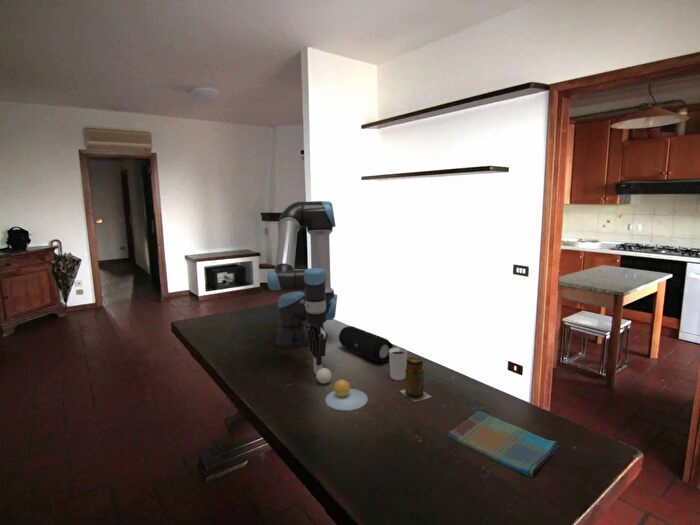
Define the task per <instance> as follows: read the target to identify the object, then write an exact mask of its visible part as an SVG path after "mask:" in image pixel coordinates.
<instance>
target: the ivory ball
mask: <svg viewBox="0 0 700 525" xmlns="http://www.w3.org/2000/svg"><path fill="white" fill-rule="evenodd" d="M315 378H316V381H317V382H318V383H320V384H322V385H325V384H327V383H329V382H330V381H331V380H332V372H331V370H330V369H329V368H327V367H322V368H321V369H319V370H318V371H317V373H316V374H315Z"/></svg>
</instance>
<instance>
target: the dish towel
mask: <svg viewBox="0 0 700 525" xmlns="http://www.w3.org/2000/svg"><path fill="white" fill-rule="evenodd" d="M447 437H448V438H449V439H451V440H452V441H455V442H456V443H458V444H460V445H463V446H464V447H467V448H468V449H469V448H470V449H471V450H473V451H474V452H477V453H479V454H481V455H482V456H483V455H484V456H485V457H487V458H489V459H491V460H492V461H494V462H497V463H498V464H500V465H502V466H504V467H507V468H509V469H511V470H513V471H515V472H517V473H520V474H522V475H524V476H526V477H530V478H534V475H535V474H536V472H537V471H538V470H540V468H541V467H542V465H543V464H544V463H546V462H547V461H548V459H549V458H550V457H551V456H553V455H555V453H556V452H557V451H558V448H560V446H559V445H557V441H555V440H549V439H546V438H543V437H542V436H540V435H536V434H534V433H532V432H530V431H528V430H526V429H524V428H521V427H519V426H516V425H514V424H511V423H509V422H506V421H504V420H501V419H499V418H497V417H494V416H492V415H490V414H487V413H485V412H483V411H482V410H477V411H476V412H474V413H473V414H472V415H470V416H469V417H468V418H466V419H465V420H464V421H462V422H461V423H460V424H459V425H457V426H456V427H455V428H453V429H452V430H450V431H448V434H447Z"/></svg>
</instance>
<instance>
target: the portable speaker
mask: <svg viewBox="0 0 700 525" xmlns="http://www.w3.org/2000/svg"><path fill="white" fill-rule="evenodd" d="M338 341H339V343H340V344H341V345H342V347H343V348H345V349H347V350H349V351H352V352H354V353H356V354H359V355H360V356H363V357H365V358H367V359H369V360H372V361H374V362H376V363H387V362H388V361H389V350H390V349H391V348H394V346H393V344H392V343H391V342H390V340H388V339H387V338H385V337H382V336H379V335H377V334H375V333H371V332H368V331H366V330H363V329H361V328H359V327H356V326H352V325H351V326H350V325H349V326H345V327H343V328H342V329H341V330H340V332H339V334H338Z"/></svg>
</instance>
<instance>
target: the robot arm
mask: <svg viewBox="0 0 700 525" xmlns="http://www.w3.org/2000/svg"><path fill="white" fill-rule="evenodd" d="M334 212H335V211H334V206H333V203H332V202H331V201H326V200H325V201H323V200H321V201H320V200H318V201H317V200H315V201H296V202H294V203H291V204H290V205H288V206H287V207H286V208H285V209H284V210H283V211H282V213H281V214H280V215H279V216H280V217H279V219H278V224H277V227H278V229H279V234H278V242H277V247H276V248H277V249H276V257H275V263H274V269H273V270H268V273H267V276H266V277H267V282H266V283H267V287H268V288H269V290H270V291H285V290H287V291H289V290H291V292H287V293H284V294H282V295H281V296H279V298H278V306H277V307H278V322H279V323H278V324H279V328H278V332H277V334H276V339H275V340H276V346H278V347H279V348H282V349H296V348H297V349H298V348H302V347H305V346H307V345H308V346H309V352H310V353H311V355H312V359H313V360H312V361H313V364H312V365H313V373H314V374H315V375H316V373H317V371H318V370H319V369H321V368H323V363H322V362H323V360H322V358H323V357H325V356H326V350H327V349H326V347H327V339H328V336H329V333H327V332H325V331H324V330H325V328H324V327H325V326H324V323H326V322H327V321H332V320H334V319H335V317H336V312H337V305H338V304H337V302H338V294H337V293H335V289H333V288H332V287H331V248H330V247H331V245H330V235H331V233H332V232H333V228H335V227H336V225H337V224H336V221H335V220H336V219H335V214H334ZM301 228H306V232H307V233H308V234H309V235H310V236H309V237H310V265H311V266H310V268H307V269H295V266H296V265H295V264H296V263H295V262H296V252H297V251H296V250H297V242H298V241H297V240H298V239H297V238H298V232H299V231H300V229H301ZM292 290H304V292H303V291H292ZM306 323H307V324H308V325H306Z"/></svg>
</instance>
